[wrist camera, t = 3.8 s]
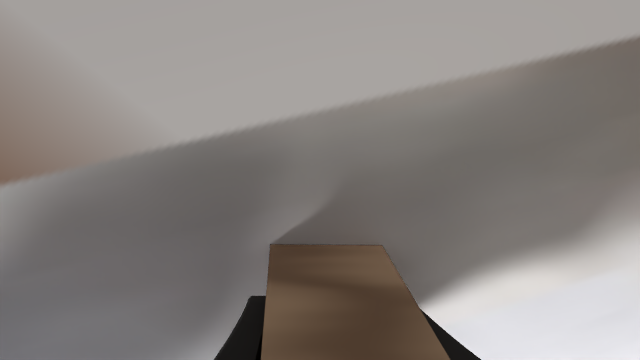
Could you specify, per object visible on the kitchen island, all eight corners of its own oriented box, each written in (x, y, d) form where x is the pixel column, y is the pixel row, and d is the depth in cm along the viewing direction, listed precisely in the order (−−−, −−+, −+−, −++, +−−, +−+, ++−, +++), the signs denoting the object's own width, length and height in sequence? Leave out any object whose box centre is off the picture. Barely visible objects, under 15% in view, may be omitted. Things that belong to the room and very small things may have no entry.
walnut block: (267, 337, 13) (255, 525, 8) (270, 244, 12) (258, 389, 6) (369, 334, 14) (427, 507, 8) (382, 245, 13) (462, 379, 7)
